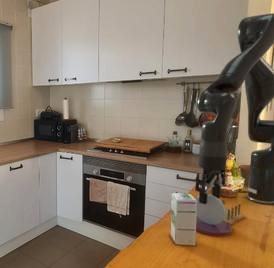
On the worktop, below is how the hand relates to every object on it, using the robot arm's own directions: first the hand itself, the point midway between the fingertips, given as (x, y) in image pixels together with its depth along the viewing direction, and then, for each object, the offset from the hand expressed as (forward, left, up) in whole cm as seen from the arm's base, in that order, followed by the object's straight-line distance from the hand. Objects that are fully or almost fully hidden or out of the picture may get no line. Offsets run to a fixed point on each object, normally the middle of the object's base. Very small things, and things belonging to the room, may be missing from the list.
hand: (209, 200), depth 91 cm
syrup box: (+16, 0, -10) cm, 18 cm away
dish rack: (-12, 0, -9) cm, 15 cm away
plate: (0, 0, -3) cm, 3 cm away
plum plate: (0, 0, -9) cm, 9 cm away
